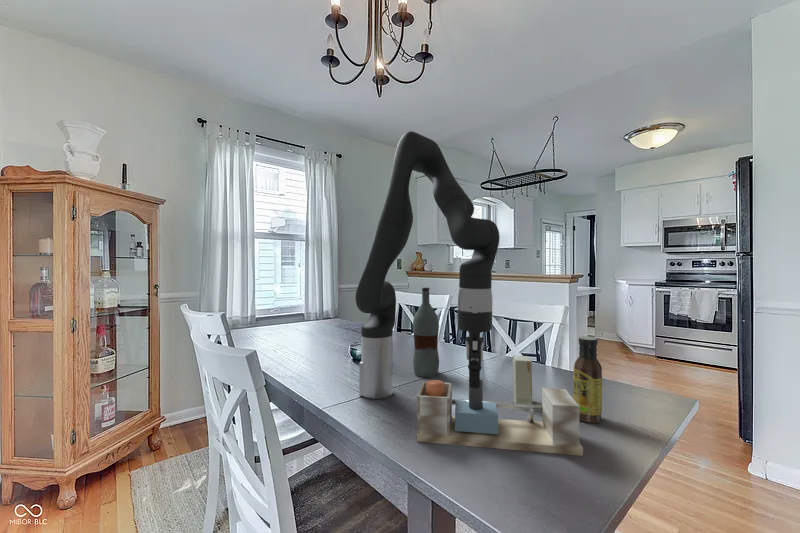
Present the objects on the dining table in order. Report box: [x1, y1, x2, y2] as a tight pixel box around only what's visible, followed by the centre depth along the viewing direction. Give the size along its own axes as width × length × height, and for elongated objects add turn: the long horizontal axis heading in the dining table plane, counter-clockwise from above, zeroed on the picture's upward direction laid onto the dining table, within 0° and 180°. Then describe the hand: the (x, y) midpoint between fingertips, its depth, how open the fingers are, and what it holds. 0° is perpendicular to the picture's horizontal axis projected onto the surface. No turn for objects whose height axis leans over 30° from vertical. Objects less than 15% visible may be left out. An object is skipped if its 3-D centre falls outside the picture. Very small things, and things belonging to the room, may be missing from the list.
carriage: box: [454, 378, 499, 434], centre depth 79 cm, size 9×7×10 cm
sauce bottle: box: [572, 335, 603, 424], centre depth 87 cm, size 6×6×20 cm
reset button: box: [425, 379, 445, 397], centre depth 81 cm, size 4×4×4 cm
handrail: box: [452, 398, 543, 423], centre depth 83 cm, size 20×1×4 cm, turn 79°
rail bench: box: [416, 381, 584, 457], centre depth 79 cm, size 33×11×10 cm, turn 79°
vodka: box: [412, 287, 440, 378], centre depth 124 cm, size 9×9×30 cm
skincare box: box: [512, 355, 533, 404], centre depth 97 cm, size 6×4×12 cm
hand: (474, 381), depth 79 cm, fingers open, 8 cm apart
